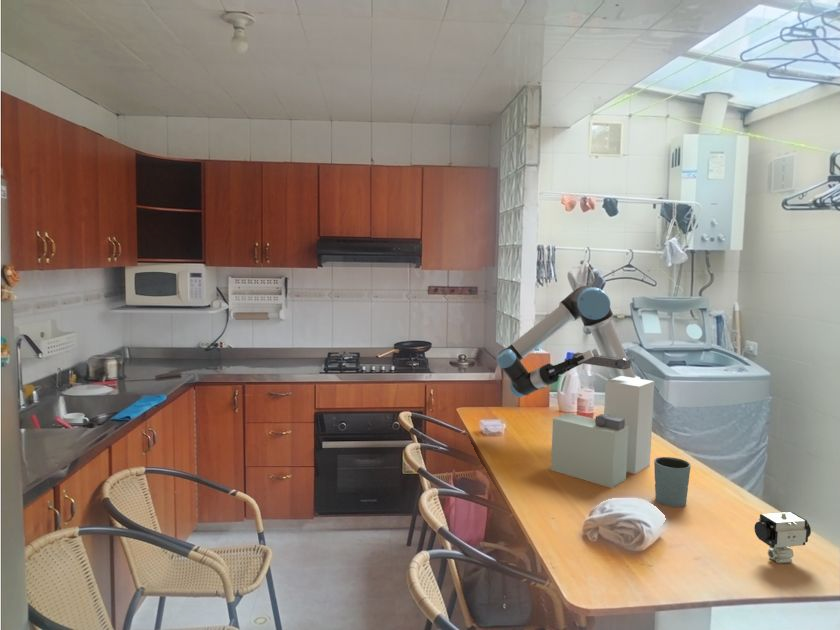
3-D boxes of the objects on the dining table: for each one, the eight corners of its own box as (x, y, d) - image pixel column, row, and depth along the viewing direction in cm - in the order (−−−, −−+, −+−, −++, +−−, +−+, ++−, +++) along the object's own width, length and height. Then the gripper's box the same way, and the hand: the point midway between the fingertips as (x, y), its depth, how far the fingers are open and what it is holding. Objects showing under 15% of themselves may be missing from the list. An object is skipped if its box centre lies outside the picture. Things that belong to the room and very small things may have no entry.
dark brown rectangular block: (572, 362, 218) (572, 352, 217) (578, 360, 221) (579, 351, 221) (624, 369, 204) (625, 360, 204) (630, 367, 208) (631, 358, 207)
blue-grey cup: (672, 510, 172) (674, 470, 171) (644, 497, 181) (646, 459, 180) (696, 504, 177) (698, 465, 175) (667, 491, 186) (669, 454, 184)
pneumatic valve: (751, 557, 146) (755, 510, 145) (793, 553, 148) (797, 507, 147) (768, 568, 141) (771, 520, 139) (811, 565, 142) (815, 517, 141)
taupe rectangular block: (601, 464, 208) (605, 380, 205) (617, 456, 217) (621, 375, 214) (635, 474, 200) (639, 386, 197) (649, 465, 209) (654, 381, 206)
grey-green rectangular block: (551, 469, 203) (553, 408, 201) (566, 462, 210) (568, 403, 208) (611, 488, 188) (614, 422, 186) (625, 479, 195) (629, 415, 193)
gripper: (560, 381, 234) (610, 359, 219) (536, 388, 222) (588, 365, 207) (552, 364, 236) (601, 340, 221) (528, 370, 224) (578, 345, 208)
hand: (594, 352), depth 214 cm, fingers closed on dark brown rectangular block, 4 cm apart
